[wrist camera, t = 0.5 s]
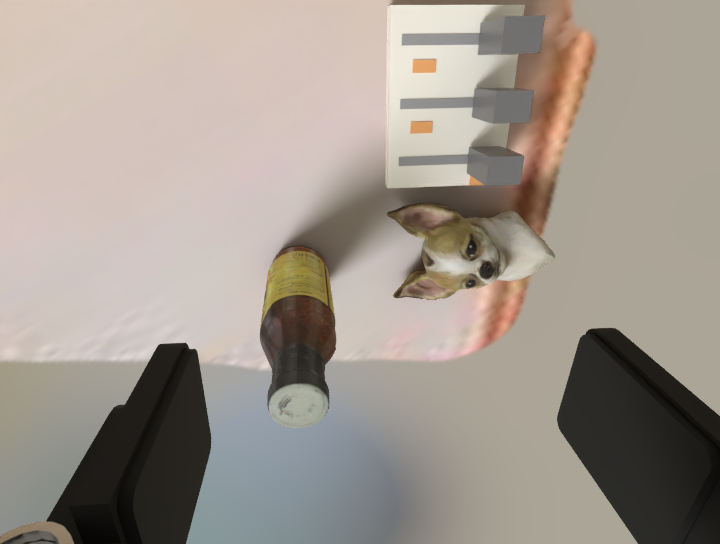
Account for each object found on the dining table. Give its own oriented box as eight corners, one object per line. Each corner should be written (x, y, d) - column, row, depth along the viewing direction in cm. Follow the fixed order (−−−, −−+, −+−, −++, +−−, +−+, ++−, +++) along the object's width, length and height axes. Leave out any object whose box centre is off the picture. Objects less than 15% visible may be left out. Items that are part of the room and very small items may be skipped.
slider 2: (474, 88, 38) (496, 91, 33) (507, 87, 38) (534, 90, 33) (471, 117, 39) (492, 123, 34) (504, 116, 39) (529, 122, 34)
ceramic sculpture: (558, 315, 41) (400, 332, 41) (522, 275, 48) (390, 290, 48) (570, 207, 36) (393, 226, 36) (529, 182, 44) (384, 198, 44)
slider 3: (469, 146, 40) (489, 157, 35) (500, 146, 40) (524, 155, 35) (466, 172, 41) (485, 185, 36) (497, 171, 41) (519, 184, 36)
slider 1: (480, 22, 35) (505, 16, 31) (515, 22, 36) (544, 15, 31) (477, 55, 36) (500, 53, 32) (511, 54, 37) (539, 52, 32)
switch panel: (387, 7, 36) (390, 4, 34) (517, 6, 37) (525, 4, 35) (385, 184, 42) (387, 188, 41) (495, 180, 43) (502, 184, 42)
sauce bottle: (257, 261, 44) (221, 391, 27) (309, 232, 44) (308, 346, 26) (291, 308, 47) (279, 453, 29) (341, 281, 46) (359, 415, 29)
